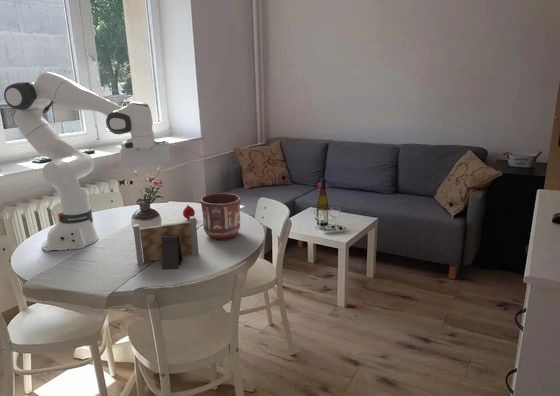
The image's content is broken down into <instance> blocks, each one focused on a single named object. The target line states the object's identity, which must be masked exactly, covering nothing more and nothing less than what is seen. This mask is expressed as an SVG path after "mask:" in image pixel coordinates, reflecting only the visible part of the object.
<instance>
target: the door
mask: <svg viewBox="0 0 560 396" xmlns="http://www.w3.org/2000/svg"><path fill="white" fill-rule="evenodd" d="M139 231H140V239H141V248H142V256H143V264H145V263H150V262H156V261H162V236H163V235H179V241H180V246H181V251H182V255H183V257H185V256H191V255H193V251H192V239H191V227H190V220H187V221H181V222H174V223H168V224H160V225H154V226H147V227H139Z"/></svg>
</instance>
